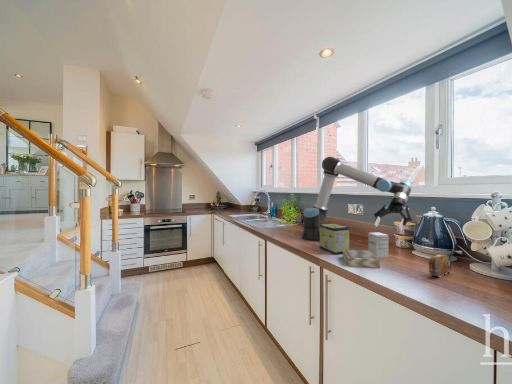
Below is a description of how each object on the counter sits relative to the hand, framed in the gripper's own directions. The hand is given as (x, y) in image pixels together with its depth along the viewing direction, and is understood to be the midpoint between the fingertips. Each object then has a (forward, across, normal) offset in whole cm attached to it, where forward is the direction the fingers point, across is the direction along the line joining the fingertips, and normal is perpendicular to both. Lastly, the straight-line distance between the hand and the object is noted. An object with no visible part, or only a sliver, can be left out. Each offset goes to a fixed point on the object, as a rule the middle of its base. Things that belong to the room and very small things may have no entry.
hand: (387, 227), depth 122 cm
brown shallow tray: (+31, 0, +10) cm, 32 cm away
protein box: (+27, +21, +5) cm, 34 cm away
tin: (+21, -28, -1) cm, 35 cm away
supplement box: (+18, 0, -4) cm, 18 cm away
